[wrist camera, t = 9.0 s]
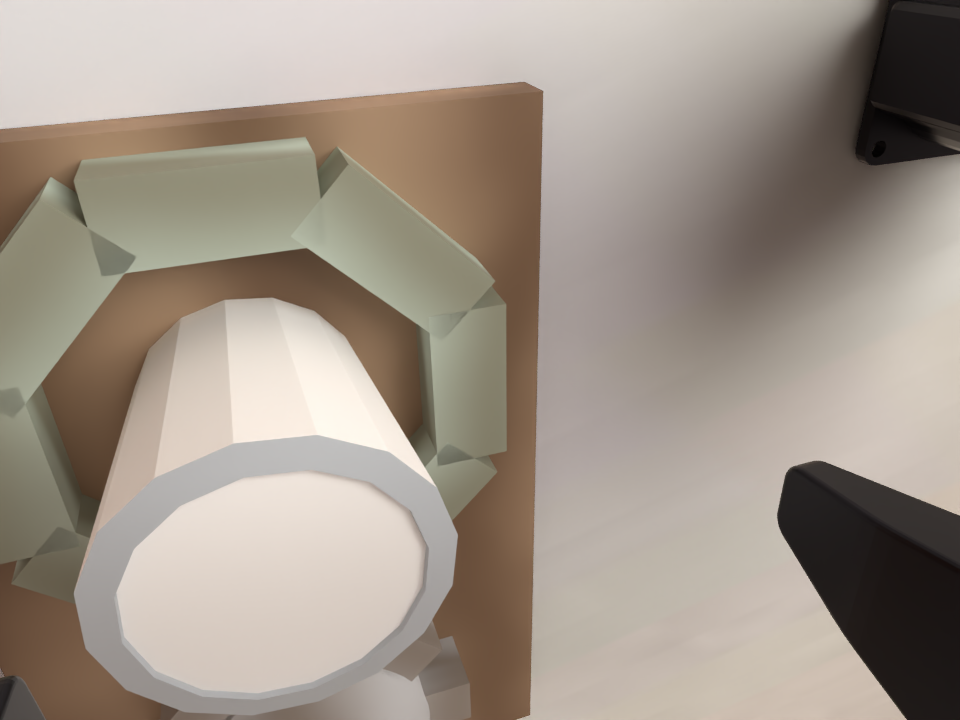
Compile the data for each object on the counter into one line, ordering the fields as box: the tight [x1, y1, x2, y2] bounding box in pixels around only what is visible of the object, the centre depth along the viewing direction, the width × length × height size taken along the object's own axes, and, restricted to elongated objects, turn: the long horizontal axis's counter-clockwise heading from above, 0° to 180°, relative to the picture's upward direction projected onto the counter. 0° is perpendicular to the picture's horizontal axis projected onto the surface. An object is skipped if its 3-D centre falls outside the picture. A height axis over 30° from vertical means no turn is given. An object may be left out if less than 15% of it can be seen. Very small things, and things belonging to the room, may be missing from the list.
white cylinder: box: [74, 298, 458, 715], centre depth 17 cm, size 7×7×7 cm
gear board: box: [0, 82, 543, 720], centre depth 22 cm, size 16×24×4 cm, turn 2°
